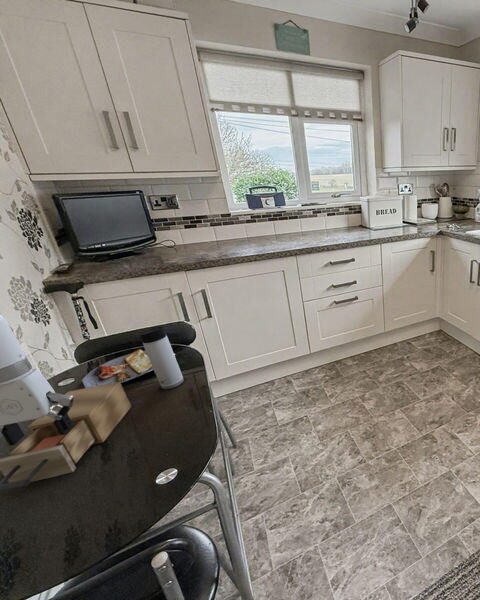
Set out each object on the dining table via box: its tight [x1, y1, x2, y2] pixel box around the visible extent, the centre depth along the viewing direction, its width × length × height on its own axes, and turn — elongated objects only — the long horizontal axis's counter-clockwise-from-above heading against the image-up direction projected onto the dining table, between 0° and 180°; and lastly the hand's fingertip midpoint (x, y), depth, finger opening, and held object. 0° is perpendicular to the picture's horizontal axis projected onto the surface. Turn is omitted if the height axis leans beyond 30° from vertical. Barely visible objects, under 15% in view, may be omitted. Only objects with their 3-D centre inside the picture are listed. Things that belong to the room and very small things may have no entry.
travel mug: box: [139, 326, 185, 390], centre depth 102 cm, size 6×7×20 cm
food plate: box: [81, 348, 154, 389], centre depth 115 cm, size 25×23×4 cm
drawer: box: [0, 418, 97, 493], centre depth 74 cm, size 20×11×7 cm, turn 15°
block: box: [31, 434, 66, 452], centre depth 76 cm, size 4×4×4 cm
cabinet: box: [27, 382, 132, 446], centre depth 87 cm, size 15×13×9 cm
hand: (42, 435), depth 74 cm, fingers open, 9 cm apart
